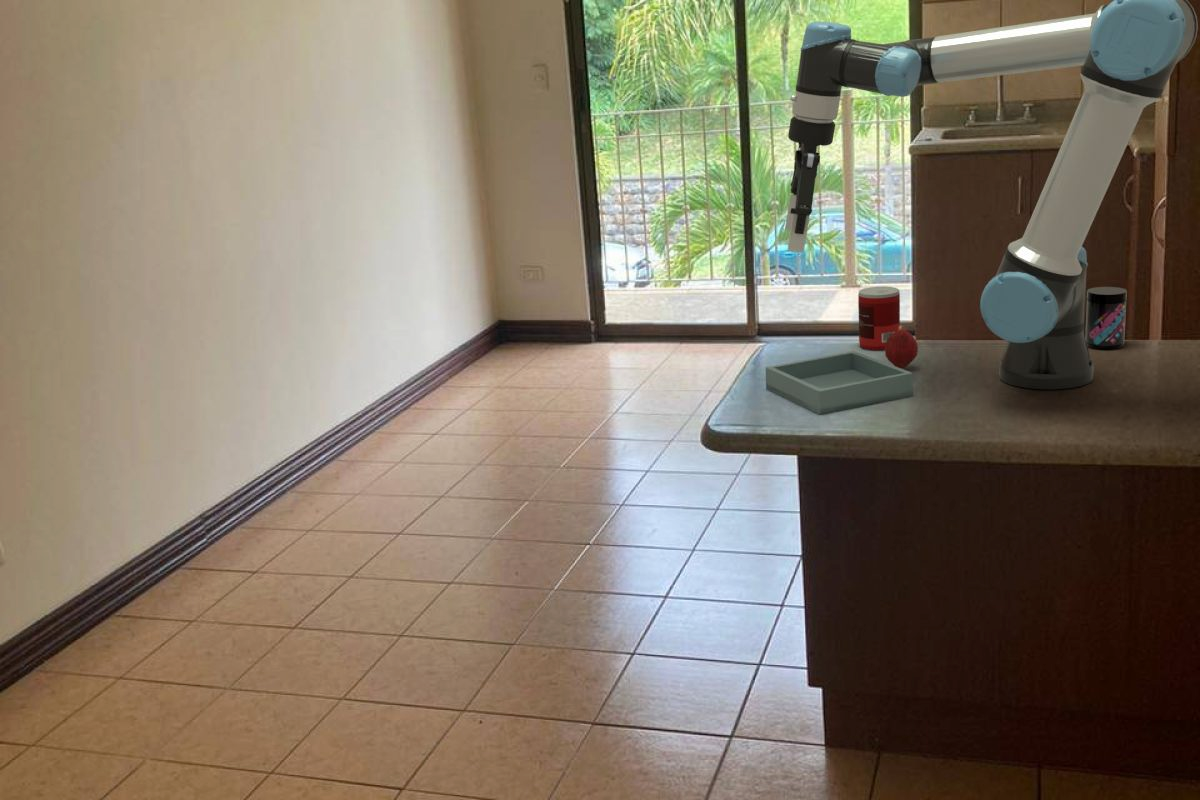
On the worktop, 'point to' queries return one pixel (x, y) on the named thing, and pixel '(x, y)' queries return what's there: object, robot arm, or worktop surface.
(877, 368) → the bin
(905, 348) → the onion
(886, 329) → the canned food
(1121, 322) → the supplement container
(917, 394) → the worktop surface
